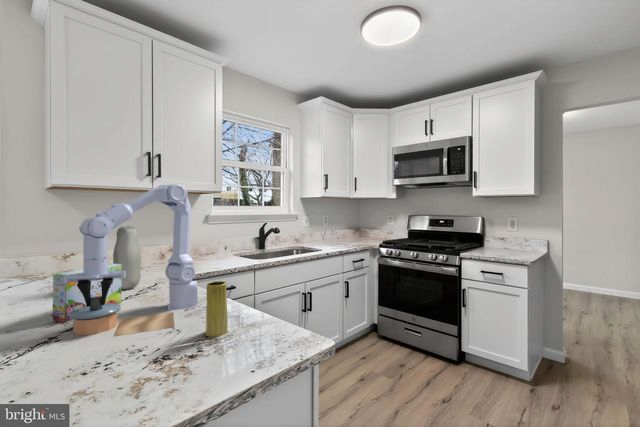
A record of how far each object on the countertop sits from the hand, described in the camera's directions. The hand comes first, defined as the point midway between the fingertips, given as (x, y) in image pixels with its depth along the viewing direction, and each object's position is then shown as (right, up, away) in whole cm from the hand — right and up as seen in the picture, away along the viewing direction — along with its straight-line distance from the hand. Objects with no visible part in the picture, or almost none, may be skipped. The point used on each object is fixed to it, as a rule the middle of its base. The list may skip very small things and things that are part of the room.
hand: (96, 305), depth 91 cm
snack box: (-14, -7, +17) cm, 23 cm away
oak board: (+12, -7, +4) cm, 15 cm away
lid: (0, -2, 0) cm, 2 cm away
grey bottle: (-21, -7, +48) cm, 53 cm away
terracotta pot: (0, -7, 0) cm, 7 cm away
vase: (+36, -7, -3) cm, 37 cm away
